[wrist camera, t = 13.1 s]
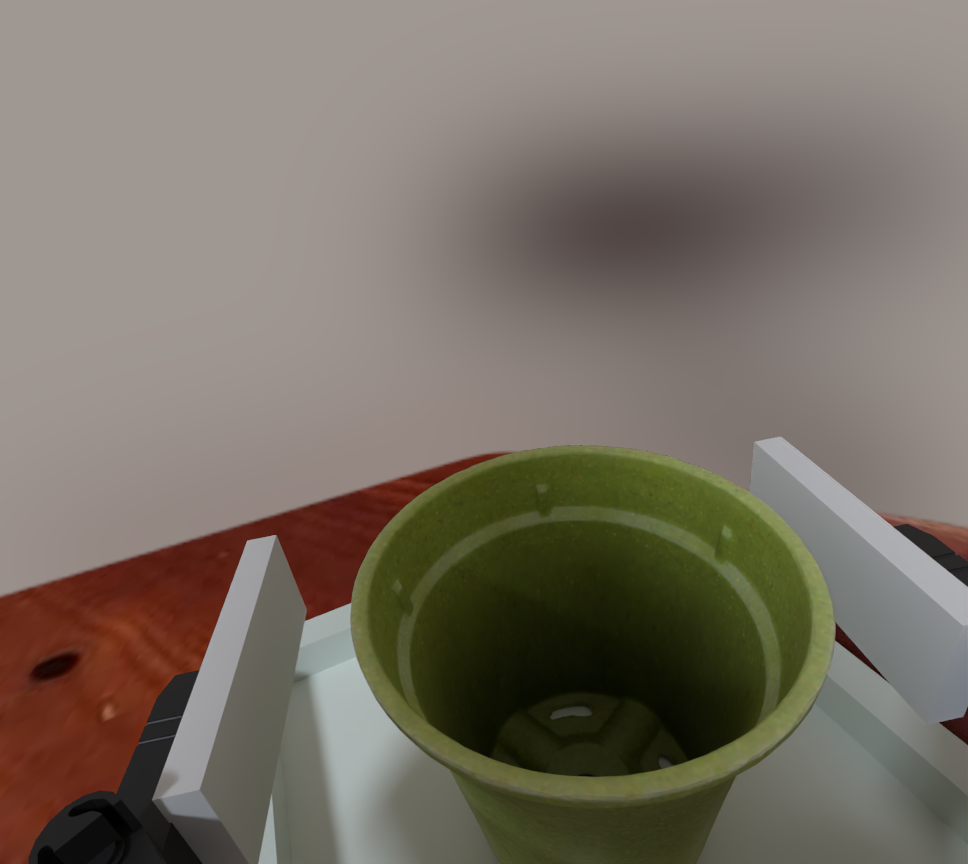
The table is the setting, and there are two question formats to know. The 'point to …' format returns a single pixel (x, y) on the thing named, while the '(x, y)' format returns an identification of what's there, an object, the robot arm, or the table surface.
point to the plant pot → (592, 646)
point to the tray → (461, 842)
